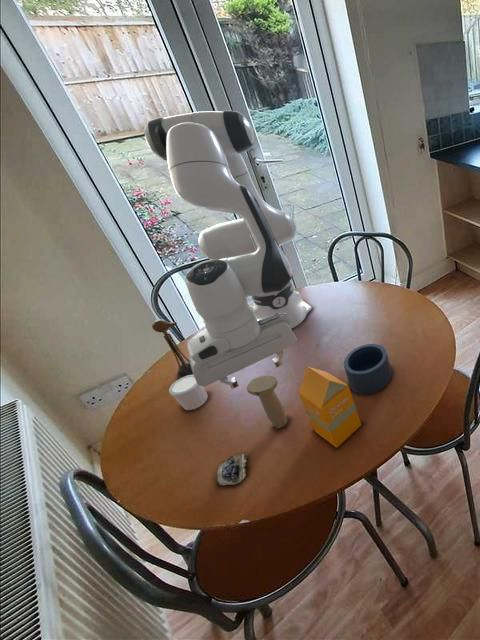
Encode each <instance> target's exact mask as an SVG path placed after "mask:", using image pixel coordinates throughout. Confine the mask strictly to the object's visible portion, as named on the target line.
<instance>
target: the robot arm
mask: <svg viewBox="0 0 480 640" xmlns="http://www.w3.org/2000/svg"><path fill="white" fill-rule="evenodd" d="M143 129H144V137H145V141H146V143H147V146H148V147H149V149H150V150H151V151H152V153H153V155H155V156H156V157H157V158H159V159H161V160H163V161H167V166H168V167H167V168H168V172H169V176H170V180H171V184H172V186H173V189H174V190H175V191H174V192H176V194H177V195H178V196H179V198H181V200H183V201H184V202H186V203H188V204H189V205H191V206H193V207H196V208H199V209H202V210H203V209H204V210H207V211H215V212H223V213H228V214H232V215H233V214H234V215H237V216H240V217H241V218H239V219H234V220H230V221H225V222H222V223H217V224H215V225H212V226H210V227H208V228H206V229H203V230H201V232H200V233H199V236H198V240H197V244H198V248H199V250H200V252H201V254H203V256H205V257H206V259H207V260H204V261H201V262H198V263H197V264H195V265H193V266H191V268H189V270H188V271H187V272H186V274H185V283H186V287H187V290H188V294H189V297H190V300H191V302H192V304H193V306H194V309H195V310H196V312H197V314H198V315H199V316H200V317H201V318H202V319H203V320H204V323H205V328H204V329H202V330H201V331H200V332H199V333H197V334H195V335H194V336H193V337H191V338H189V339H188V340H187V342H186V347H187V352H188V355H189V356H188V357H189V358H188V360H189V361H190V365H191V369H192V372H193V375H194V377H195V380H196V382H197V384H198V385H200V386H204V387H207V386H209V385H211V384H213V383H215V382H218V381H220V383H222V384H224V385H228V386H229V387H230V389H231V390H233V389H237V388H238V387H239V386H240V385H239V382H238V380H237V378H236V377H235V376H233V377H231V378H230V377H229V376H230V375H233V374H234V373H237V372H239V371H241V370H244V369H246V368H247V367H250V366H252V365H254V364H256V363H258V362H260V361H263V360H265V359H266V358H269V357H271V356H273V355H275V357H273V358H272V362H273V364H274V366H275V368H279V367H281V366H283V365H284V364H283V361H282V360H283V356H284V353H285V352H284V350H286V349H288V348H290V347H293V346H294V345H296V342H297V341H298V338H297V337H296V334H295V333H294V331H293V330H292V329H294V328H296V327H298V326H299V325H300V324H301V323H303V321H304V320H305V319H306V316H307V315H308V313H310V311H311V310H312V309H313V308H312V306H311V305H310V304H308V303H307V302H305V301H304V300H303V297H302V294H301V293H300V292H298V291H297V290H294V287H293V283H292V282H291V281H292V279H293V269H292V266H291V264H290V261H289V260H288V258H287V257H286V255H285V254H284V252H283V251H282V249H281V246H282V245H285V244H287V243H289V242H291V241H293V240H294V239H295V238H296V235H297V231H298V230H297V224H296V221H295V220H294V218H293V217H292V216H291V215H290V214H288V213H287V212H285V211H283V210H280V209H277V208H275V207H273V206H272V205H270V204H268V203H267V202H266V201H265V200H264V199H263V198H262V197H261V195H260V194H259V192H258V191H257V188H256V187H255V185H254V182H253V179H252V176H251V174H250V171H249V169H248V167H247V164H246V163H245V160H244V158H243V156H242V155H245V152H247V151H250V150H251V149H252V147H253V145H254V139H255V135H254V129H253V127H252V125H251V123H250V121H248V119H247V118H246V116H245V115H244V114H242V113H241V112H239V111H238V110H237V111H236V110H230V109H229V110H228V109H224V110H223V111H220V110H219V111H216V110H213V111H209V110H208V111H193V112H191V113H181V114H176V115H170V116H166V117H164V116H159V117H156V118H152V119H150V120H148V121H147V123H146V124H145V125H144V128H143ZM249 297H251V299H252V303H253V305H249V303H248V298H249Z"/></svg>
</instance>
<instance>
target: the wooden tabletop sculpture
mask: <svg viewBox="0 0 480 640" xmlns="http://www.w3.org/2000/svg"><path fill="white" fill-rule="evenodd" d="M177 325H178V323H177V321H172V322H169V321H167V320H166V319H155V320H154V321H153V322H152V324H151V328H152V330H153V331H155V332H157V333H162V337H163V338H164V339H165V342H166V343H167V345H168V346H169V348H170V350H171V351H172V354H173V355H174V358H175V359H176V362H177V365H178V369H177V375H178V377H179V378H182V377H185V376H187V375H193V372H192V369H191V365H190V361H189V358H187V356H186V355H185V354H184V353H183V351H182V350H181V349H180V348H179V346H178V344H177V343H176V340H174V338H173V336H172V335H171V333H170V331H169V329H170V328H171V327H176V326H177ZM184 359H185V360H184ZM180 363H181V364H180Z"/></svg>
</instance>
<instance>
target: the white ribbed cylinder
mask: <svg viewBox="0 0 480 640" xmlns="http://www.w3.org/2000/svg"><path fill="white" fill-rule="evenodd" d="M168 393H169V394H170V395H171V396H172V397H173V398H174V399H175V400H176V401H177V403H178V404H179V405H180V406H181V407H182V408H183V410H185V411H192V410H196V409H198V408H200V407H202V406H203V405H204V404H205V403H206V402H207V401H208V399H209V396H208V393H207V391H206V389H205V386H200V385H198V384H197V382H196V380H195V377H194V375H187V376H185V377H182V378H181V377H179V379H177V380H175V381H174V382H173V383H172V384H171V385H170V387H169V389H168Z"/></svg>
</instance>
